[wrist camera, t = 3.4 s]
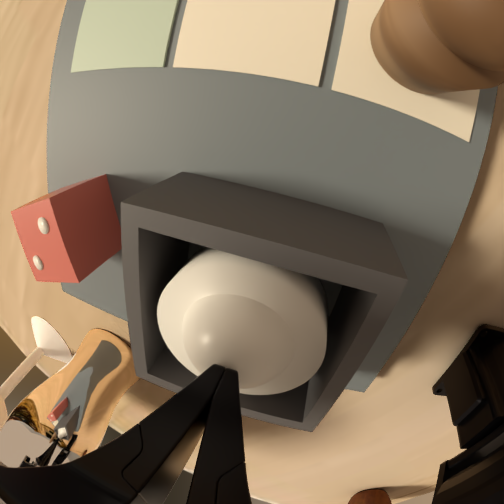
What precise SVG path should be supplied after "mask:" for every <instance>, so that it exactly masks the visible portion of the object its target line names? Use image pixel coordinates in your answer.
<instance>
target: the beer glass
mask: <svg viewBox="0 0 504 504" xmlns="http://www.w3.org/2000/svg"><path fill="white" fill-rule="evenodd" d="M139 378H140V377H138V376H136V373H135V367H134V361H133V355H132V349H131V348H130V347H129V346H128V345H127V344H126V343H125V342H124V341H122V340H121V339H120V338H118V337H117V336H115V335H114V334H112V333H110V332H108V331H105V330H102V329H92V330H90V331H89V332H88V333H87V335H86V336H85V338H84V339H83V341H82V343H81V345H80V346H79V348H78V350H77V351H76V353H75V354H74V356H73V357H72V358H71V359H70V360H69V361H68V362H67V363H66V364H65V365H64V366H63V367H62V368H61V369H60V370H59V371H57V372H56V373H55V374H54V375H52V376H51V377H50V378H48V379H47V380H46V381H44V382H43V383H42V384H41V385H39V386H38V387H37V388H36V389H34V390H33V391H32V392H31V393H30V394H29V395H28V396H26V397H25V398H24V399H23V400H22V401H21V402H20V403H19V404H18V405H17V407H16V408H15V409H14V410H13V411H12V412H11V414H10V415H9V416H8V418H7V419H6V420H5V422H4V423H3V425H2V426H1V428H0V461H1V462H2V463H3V464H5V465H6V466H7V467H37V466H50V465H59V464H64V463H67V462H70V461H73V460H75V459H77V458H79V457H82V456H84V455H86V454H88V453H90V452H92V451H94V450H96V449H98V448H100V445H101V442H102V439H103V437H104V435H105V432H106V429H107V426H108V424H109V421H110V419H111V416H112V414H113V411H114V409H115V407H116V405H117V404H118V402H119V400H120V399H121V397H122V396H123V394H124V393H125V392H126V391H127V390H128V389H129V388H130V387H131V386H132V385H133V384H134V383H135V382H136V381H137V380H138V379H139Z"/></svg>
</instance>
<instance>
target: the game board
mask: <svg viewBox="0 0 504 504" xmlns="http://www.w3.org/2000/svg"><path fill="white" fill-rule="evenodd" d="M383 2H384V0H67V3H66V6H65V10H64V14H63V18H62V22H61V26H60V30H59V35H58V40H57V45H56V50H55V56H54V62H53V68H52V76H51V84H50V93H49V104H48V120H47V181H48V194H49V193H51V192H53V191H55V190H58V189H60V188H63V187H66V186H69V185H72V184H75V183H78V182H81V181H84V180H87V179H91V178H94V177H97V176H101V175H104V174H106V176H107V180H108V184H109V188H110V191H111V195H112V199H113V203H114V206H115V210H116V213H117V217H118V220H119V223H120V227H121V245H122V249H121V250H120V251H118V252H117V253H116V254H114V255H113V256H112V257H111V258H109V259H108V260H107V261H106V262H104V263H103V264H102V265H101V266H99V267H98V268H97V269H96V270H94V271H93V272H92V273H91V274H89V275H88V276H87V277H86V278H85V279H83V280H82V281H81V282H80V283H64V282H61V285H62V290H63V291H64V292H66V293H68V294H70V295H72V296H74V297H76V298H78V299H80V300H82V301H84V302H86V303H88V304H90V305H92V306H94V307H96V308H99V309H101V310H103V311H105V312H107V313H110V314H112V315H114V316H116V317H118V318H121V319H123V320H125V321H128V328H129V335H130V342H131V349H132V355H133V361H134V367H135V373H136V376H138V377H140V378H142V379H144V380H146V381H149V382H151V383H153V384H156V385H158V386H160V387H163V388H165V389H168V390H170V391H173V392H175V393H178V392H179V391H181V390H182V389H183V388H184V387H186V386H187V385H188V384H189V383H191V382H192V381H193V380H194V379H195V378H197V377H198V376H197V375H195V374H194V373H192V372H191V371H190V370H188V369H187V368H186V367H185V366H184V365H183V364H182V363H181V362H179V361H178V359H177V358H176V357H175V356H174V355H173V354H172V352H171V351H170V349H169V348H168V347H167V345H166V343H165V341H164V339H163V337H162V335H161V332H160V329H159V325H158V320H157V307H158V302H159V298H160V296H161V294H162V292H163V290H164V289H165V287H166V286H167V284H168V283H169V282H170V281H171V280H172V279H173V277H174V276H175V275H176V274H177V273H178V272H179V271H180V269H181V268H182V267H183V266H184V265H185V264H186V262H187V261H188V260H189V259H190V258H191V257H192V256H193V255H194V254H195V253H196V252H198V251H199V250H200V249H202V248H203V247H209V248H212V249H216V250H219V251H223V252H227V253H230V254H234V255H237V256H241V257H244V258H248V259H251V260H255V261H259V262H262V263H266V264H269V265H273V266H277V267H280V268H284V269H287V270H291V271H295V272H298V273H302V274H305V275H309V276H313V277H316V278H318V279H319V281H320V283H321V285H322V287H323V289H324V292H325V295H326V298H327V304H328V323H327V343H326V353H325V357H324V360H323V362H322V364H321V366H320V368H319V369H318V371H317V372H316V373H315V374H314V375H313V376H312V377H311V378H310V379H309V380H308V381H306V382H305V383H304V384H302V385H300V386H298V387H296V388H294V389H292V390H289V391H286V392H282V393H277V394H270V395H250V394H242V393H240V404H241V415H243V416H246V417H250V418H253V419H257V420H261V421H265V422H269V423H273V424H277V425H281V426H285V427H290V428H294V429H299V430H304V431H309V432H313V430H314V429H315V428H316V426H317V425H318V424H319V423H320V421H321V420H322V419H323V418H324V416H325V415H326V414H327V412H328V411H329V410H330V408H331V407H332V406H333V404H334V403H335V401H336V400H337V399H338V397H339V396H340V394H341V393H342V392H343V390H344V389H349V390H354V391H359V392H365V391H366V389H367V388H368V387H369V385H370V384H371V383H372V381H373V380H374V379H375V377H376V376H377V375H378V373H379V372H380V370H381V369H382V368H383V366H384V365H385V363H386V362H387V360H388V359H389V357H390V356H391V354H392V353H393V351H394V350H395V348H396V347H397V345H398V344H399V342H400V341H401V339H402V338H403V336H404V334H405V333H406V331H407V329H408V328H409V326H410V325H411V323H412V321H413V320H414V318H415V316H416V314H417V313H418V311H419V309H420V307H421V306H422V304H423V302H424V300H425V298H426V297H427V295H428V293H429V291H430V289H431V287H432V285H433V283H434V281H435V279H436V277H437V275H438V273H439V271H440V269H441V267H442V265H443V263H444V261H445V259H446V257H447V255H448V252H449V250H450V248H451V246H452V243H453V241H454V239H455V236H456V234H457V232H458V229H459V227H460V224H461V222H462V219H463V217H464V214H465V211H466V209H467V206H468V203H469V200H470V198H471V195H472V192H473V189H474V186H475V183H476V180H477V176H478V173H479V170H480V166H481V163H482V159H483V156H484V152H485V148H486V144H487V140H488V136H489V132H490V127H491V122H492V118H493V112H494V107H495V101H496V95H497V88H498V86H496V87H493V88H487V89H477V90H466V91H457V92H448V93H441V94H431V95H429V94H421V93H417V92H414V91H411V90H409V89H407V88H405V87H403V86H402V85H400V84H398V83H397V82H396V81H394V80H393V79H392V78H391V77H390V76H389V75H388V74H387V73H386V72H385V71H384V69H383V68H382V67H381V65H380V64H379V62H378V61H377V59H376V57H375V55H374V52H373V49H372V46H371V41H370V31H371V26H372V23H373V21H374V18H375V17H376V15H377V13H378V11H379V9H380V7H381V6H382V4H383Z"/></svg>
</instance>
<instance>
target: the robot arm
mask: <svg viewBox="0 0 504 504" xmlns="http://www.w3.org/2000/svg"><path fill="white" fill-rule="evenodd" d="M432 390H433V394H435V395H442V396H447V399H448V404H449V408H450V413H451V417H452V422H453V425H454V426H456V427H457V432H458V437H459V443H460V449H466V450H465V451H463V452H462V453H460V454H459V455H457V456H455V457H454V458H452V459H450V460H447V461H445V462H443V463H442V464H440V469H439V474H438V479H437V484H436V488H435V493H434V497H433V501H432V504H504V329H503V328H499V327H495V326H491V325H487V324H483V325H481V326H479V327H478V328H477V330H476V331H475V333H474V334H473V336H472V337H471V338H470V340H469V341H468V343H467V344H466V345H465V347H464V348H463V350H462V351H461V352H460V354H459V355H458V356H457V358H456V359H455V360H454V362H453V363H452V364H451V365H450V367H449V368H448V369H447V370H446V372H445V373H444V374H443V375H442V376H441V378H440V379H439V380H438V381H437V382H436V384H435V385H434V386H433V387H432ZM139 424H140V425H139ZM139 424H136V425H135V426H134V427H132V428H131V429H130V430H128V431H127V432H125V433H124V434H122V435H121V436H119V437H118V438H116V439H114V440H113V441H111V442H109V443H107V444H106V445H104V446H102V447H100V448H98V449H96V450H94V451H92V452H90V453H88V454H86V455H84V456H82V457H79V458H77V459H75V460H73V461H70V462H67V463H64V464H59V465H50V466H37V467H7V466H6V465H5V464H3V463H2V462H1V461H0V504H163V503H164V501H165V499H166V498H167V496H168V494H169V493H170V491H171V489H172V488H173V486H174V484H175V482H176V481H177V479H178V477H179V475H180V474H181V472H182V470H183V468H184V467H185V465H186V463H187V461H188V460H189V458H190V456H191V454H192V452H193V451H194V449H195V447H196V445H197V443H198V442H199V440H200V438H201V436H202V434H203V437H202V441H201V445H200V449H199V453H198V457H197V461H196V465H195V469H194V473H193V478H192V482H191V486H190V490H189V494H188V499H187V503H186V504H252V502H251V497H250V493H249V488H248V481H247V474H246V463H244V462H245V453H244V441H243V429H242V417H241V404H240V390H239V376H238V371H236V370H233V369H230V368H225V367H224V366H221V365H218V364H213V365H211V366H210V367H209V368H208V369H206V370H205V371H204V372H203V373H202V374H200V375H199V376H198V377H197V378H195V379H194V380H193V381H192V382H191V383H189V384H188V385H187V386H186V387H184V388H183V389H182V390H181V391H179V392H178V393H177V394H176V395H174V396H173V397H172V398H171V399H169V400H168V401H167V402H165V403H164V404H163V405H162V406H160V407H159V408H158V409H156V410H155V411H154V412H152V413H151V414H150V415H149V416H147V417H146V418H145V419H143V420H142V421H141V422H140V423H139Z"/></svg>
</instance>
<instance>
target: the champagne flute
mask: <svg viewBox="0 0 504 504" xmlns="http://www.w3.org/2000/svg"><path fill="white" fill-rule="evenodd" d="M31 322H32V328H33V332H34V336H35V340H36V344H37V348H36V349H35V350H34V351H33V352H32V353H31V354H30V355H29V356H28V357H27V358H26V359H25V360H24V361H23V362H22V363H21V364H20V366H19V367H18V368H17V369H16V370H15V371H14V372H13V373H12V374H11V375H10V376H9V378H8V379H7V380H6V381H5V382H4V383H3V384H2V385H1V387H0V428H1V426H2V425H3V423H4V422H5V420H6V419H7V418H8V416H7V409H6V405H5V402H4V400H5V398H6V397H7V396H8V395H9V394H10V393H11V391H12V390H13V389H14V388H15V387H16V386H17V384H18V383H19V382H20V381H21V380H22V379H23V378H24V376H25V375H26V374H27V373H28V372H29V370H31V369H32V367H33V366H34V365H35V364H36V363H37V362H38V361H39V360H40V359H41V358H42V357H43V356H44V355H46V356H48V357H51V358H54V359H56V360H59V361H62V362H65V363H67V362H68V361H69V360H70V359H71V358H72V355H71V352H70V350H69V348H68V346H67V344H66V343H65V341H64V340H63V338H62V337H61V336H60V335H59V333H58V332H57V331H56V330H55V329H54V328H53V327H52V326H51V325H50V324H49V323H48V322H47V321H45V320H44V319H42V318H40V317H38V316H34V317H32V320H31Z"/></svg>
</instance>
